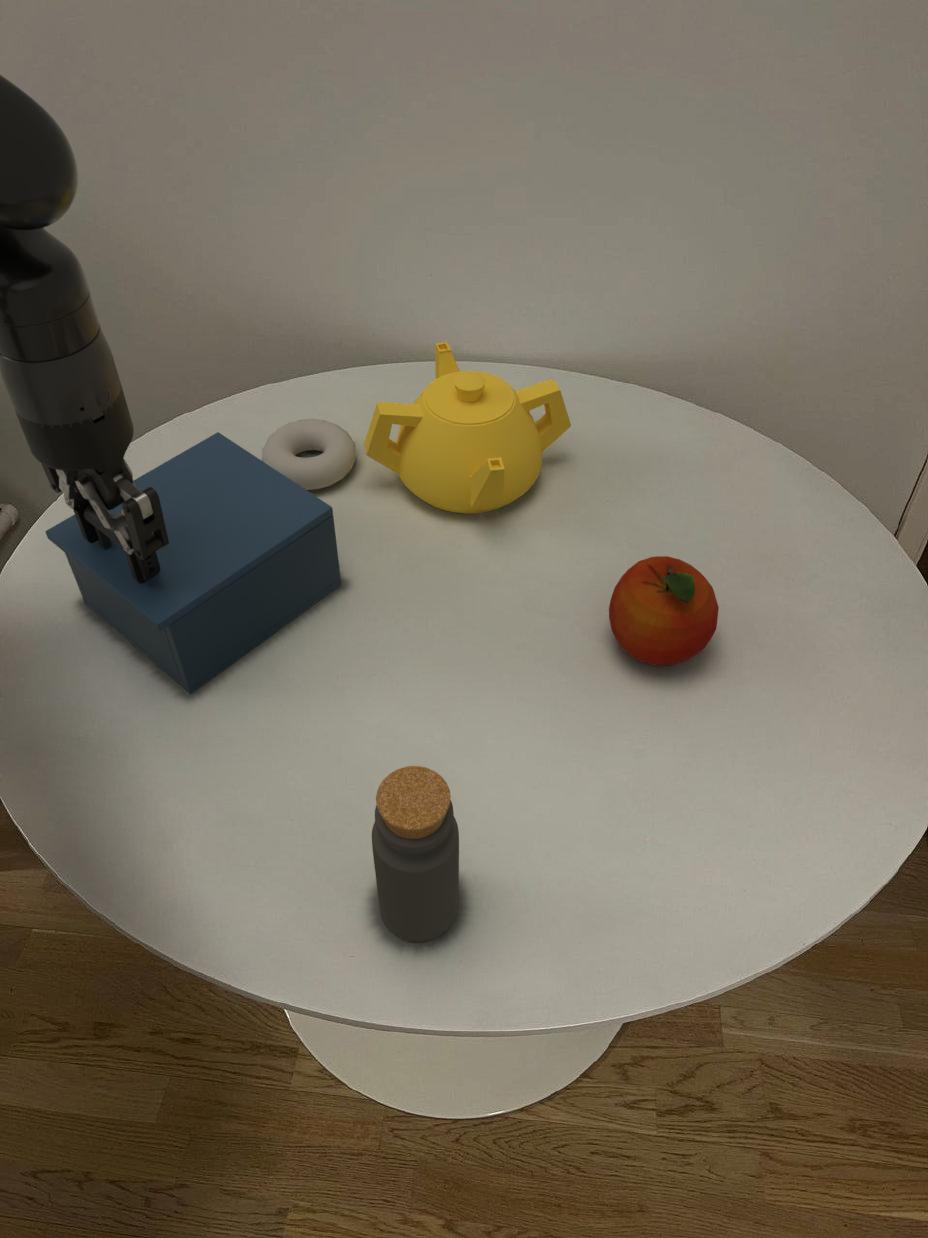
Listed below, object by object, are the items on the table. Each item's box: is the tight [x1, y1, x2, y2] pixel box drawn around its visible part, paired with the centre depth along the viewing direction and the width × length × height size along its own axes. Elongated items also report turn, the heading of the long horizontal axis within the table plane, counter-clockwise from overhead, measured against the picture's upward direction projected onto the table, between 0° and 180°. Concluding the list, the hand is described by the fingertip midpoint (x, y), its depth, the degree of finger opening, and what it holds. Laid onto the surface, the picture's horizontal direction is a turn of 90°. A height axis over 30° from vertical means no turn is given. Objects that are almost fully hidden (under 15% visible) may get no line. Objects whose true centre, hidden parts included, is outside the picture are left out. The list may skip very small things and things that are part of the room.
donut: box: [261, 418, 357, 491], centre depth 107 cm, size 10×4×10 cm
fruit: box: [608, 555, 720, 667], centre depth 88 cm, size 10×10×10 cm
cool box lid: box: [44, 431, 334, 631], centre depth 87 cm, size 19×16×5 cm
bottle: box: [371, 765, 460, 943], centre depth 69 cm, size 6×6×15 cm
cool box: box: [64, 514, 342, 695], centre depth 92 cm, size 18×16×9 cm
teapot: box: [363, 341, 572, 515], centre depth 103 cm, size 17×17×12 cm
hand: (122, 556), depth 84 cm, fingers open, 6 cm apart
